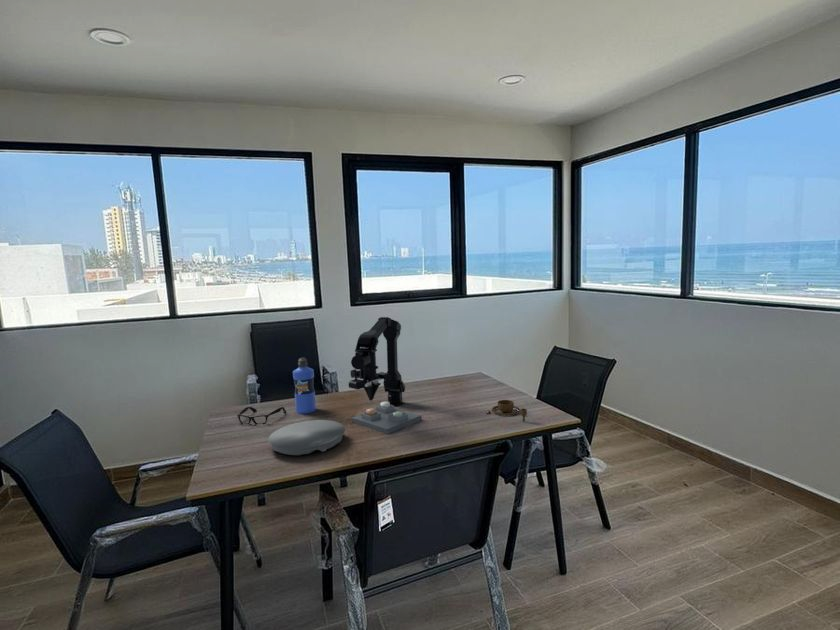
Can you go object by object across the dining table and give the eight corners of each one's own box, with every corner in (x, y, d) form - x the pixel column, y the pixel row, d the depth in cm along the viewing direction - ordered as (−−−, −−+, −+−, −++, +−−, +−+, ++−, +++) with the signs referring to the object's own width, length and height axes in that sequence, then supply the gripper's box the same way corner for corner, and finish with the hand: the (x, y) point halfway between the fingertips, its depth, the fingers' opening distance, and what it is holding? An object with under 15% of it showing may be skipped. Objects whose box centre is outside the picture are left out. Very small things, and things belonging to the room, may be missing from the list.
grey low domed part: (315, 425, 189) (314, 415, 189) (361, 440, 171) (360, 428, 171) (254, 449, 168) (253, 437, 167) (299, 468, 150) (298, 455, 150)
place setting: (525, 408, 202) (525, 396, 201) (528, 424, 182) (528, 410, 181) (486, 408, 205) (486, 395, 204) (485, 423, 185) (485, 409, 184)
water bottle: (313, 413, 204) (309, 359, 202) (293, 414, 205) (289, 360, 202) (318, 407, 214) (315, 355, 211) (298, 407, 214) (295, 356, 211)
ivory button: (385, 405, 201) (385, 401, 201) (391, 407, 198) (391, 402, 198) (378, 407, 198) (378, 403, 198) (385, 409, 196) (384, 404, 195)
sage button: (398, 415, 190) (397, 410, 190) (404, 417, 188) (404, 412, 187) (391, 418, 187) (391, 413, 187) (397, 420, 185) (397, 415, 184)
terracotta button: (371, 412, 192) (371, 407, 192) (377, 414, 190) (377, 409, 190) (364, 414, 190) (364, 410, 189) (370, 416, 187) (370, 412, 187)
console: (386, 409, 206) (385, 401, 205) (421, 419, 191) (421, 410, 190) (351, 422, 191) (351, 413, 191) (387, 434, 176) (386, 424, 176)
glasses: (234, 426, 194) (232, 415, 194) (254, 411, 212) (253, 401, 211) (270, 427, 192) (269, 416, 191) (287, 411, 209) (286, 401, 209)
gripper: (372, 357, 199) (374, 391, 201) (339, 365, 186) (341, 402, 188) (390, 360, 192) (391, 396, 194) (356, 369, 178) (358, 407, 180)
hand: (370, 400), depth 189 cm, fingers closed
